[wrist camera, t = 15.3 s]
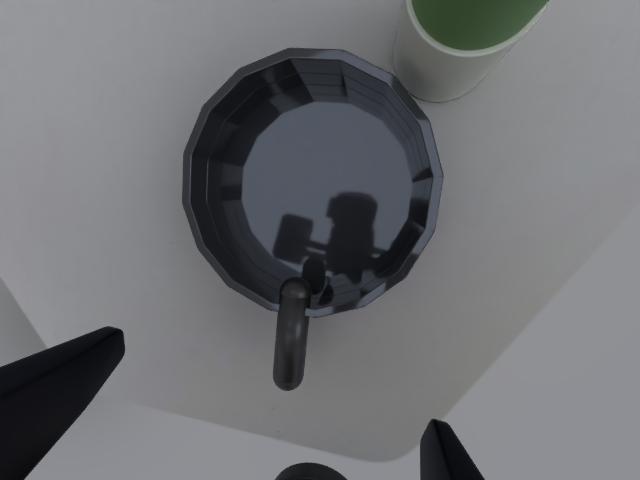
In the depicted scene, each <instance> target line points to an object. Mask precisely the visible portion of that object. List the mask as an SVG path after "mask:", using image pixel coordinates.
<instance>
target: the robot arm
mask: <svg viewBox="0 0 640 480" xmlns="http://www.w3.org/2000/svg"><path fill="white" fill-rule="evenodd" d="M124 353H125V343H124V334H123V331H122V330H121V329H118V328H114V327H110V326H107V327H104V328H101V329H98V330H96V331H93V332H91V333H88V334H85V335H83V336H80V337H78V338H75V339H72V340H70V341H67V342H65V343H62V344H59V345H57V346H54V347H52V348H49V349H46V350H44V351H41V352H38V353H36V354H33V355H31V356H28V357H25V358H23V359H20V360H18V361H15V362H13V363H10V364H7V365H5V366H2V367H0V480H24V479H25V478H26V477H27V476H28V475H29V473H30V472H31V471H32V470H33V469H34V468H35V466H36V465H37V464H38V463H39V462H40V461H41V460H42V458H43V457H44V456H45V455H46V454H47V453H48V451H49V450H50V449H51V448H52V447H53V446H54V445H55V443H56V442H57V441H58V440H59V439H60V438H61V436H62V435H63V434H64V433H65V432H66V431H67V430H68V428H69V427H70V426H71V425H72V424H73V423H74V422H75V420H76V419H77V418H78V417H79V416H80V415H81V413H82V412H83V411H84V410H85V408H86V407H87V406H88V405H89V403H90V402H91V401H92V399H93V398H94V397H95V395H96V394H97V393H98V391H99V390H100V388H101V387H102V386H103V384H104V383H105V382H106V380H107V379H108V377H109V376H110V375H111V373H112V372H113V371H114V369H115V368H116V366H117V365H118V364H119V362H120V361H121V360H122V358H123V356H124ZM420 468H421V469H420V473H421V474H420V476H421V480H485V479H484V478H483V476H482V475H481V473H480V472H479V470H478V469H477V467H476V465H475V464H474V463H473V461H472V459H471V458H470V456H469V455H468V453H467V452H466V450H465V449H464V447H463V445H462V444H461V443H460V441H459V439H458V438H457V436H456V435H455V433H454V431H453V430H452V428H451V427H450V425H448V423H446V422H443V421H440V420H436V419H432V420H431V421H430V422H429V424H428V426H427V428H426V430H425V432H424V434H423V435H422V438H421V442H420Z"/></svg>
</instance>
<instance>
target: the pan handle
mask: <svg viewBox="0 0 640 480" xmlns="http://www.w3.org/2000/svg"><path fill="white" fill-rule="evenodd" d="M311 295H312V291H311V287H310V284H309V283H308V282H307V281H306V280H305V279H303V278H301V277H290V278H288V279H287V280H285V281H284V282H283V284H282V285H281V288H280V293H279V312H278V317H277V329H276V341H275V353H274V365H273V379H274V382H275V384H276V385H277V386H278V387H279V388H280V389H282V390H285V391H290V390H293V389H295V388H297V387H298V386H299V385H300V383H301V382H302V379H303V375H304V365H305V355H306V345H307V335H308V325H309V317H308V316H305V311H306V308H307V307H309V306H310V305H311Z"/></svg>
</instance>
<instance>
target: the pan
mask: <svg viewBox="0 0 640 480" xmlns="http://www.w3.org/2000/svg"><path fill="white" fill-rule="evenodd" d="M442 183H443V171H442V167H441V163H440V160H439V156H438V152H437V148H436V144H435V140H434V136H433V132H432V128H431V124H430V121H429V119H428V118H427V116H426V115H425V114H424V113H423V111H422V110H421V109H420V107H419V106H418V105H417V104H416V102H415V101H414V100H413V99H412V97H411V96H410V95H409V94H408V92H407V91H406V90H405V89H404V87H403V86H402V85H401V83H400V82H399V81H398V80H397V78H396V77H395V76H393V74H391V73H389V72H387V71H385V70H383V69H381V68H379V67H377V66H375V65H373V64H371V63H369V62H367V61H365V60H363V59H361V58H359V57H357V56H355V55H353V54H351V53H349V52H347V51H345V50H344V51H343V50H339V49H309V48H287V49H285V50H282V51H280V52H277V53H275V54H273V55H270V56H268V57H265V58H263V59H261V60H258V61H256V62H253V63H251V64H249V65H246V66H244V67H241V68H240V69H238V70H237V71H236V72H235V73H234V74H233V75H232V76H231V77H230V78H229V79H228V81H227V82H226V83H225V84H224V85H223V86H222V87H221V88H220V89H219V90H218V91H217V92H216V93H215V94H214V95H213V96H212V97H211V98H210V99H209V100H208V101H207V102H206V103H205V104H204V105H203V107H202V109H201V112H200V114H199V116H198V119H197V121H196V124H195V126H194V128H193V131H192V133H191V136H190V138H189V141H188V143H187V145H186V148H185V150H184V154H183V189H182V202H183V203H182V204H183V207H184V210H185V213H186V216H187V219H188V222H189V225H190V228H191V231H192V234H193V237H194V239H195V242H196V245H197V248H198V250H199V251H200V252H201V254H202V255H203V256H204V257H205V259H206V260H207V261H208V262H209V264H210V265H211V266H212V267H213V269H214V270H215V271H216V272H217V274H218V275H219V276H220V277H221V278H222V280H223V281H224V282H225V283H226V285H227V286H228V287H230V288H232V289H233V290H235V291H237V292H239V293H240V294H242V295H244V296H245V297H247V298H249V299H250V300H252V301H254V302H256V303H257V304H259V305H261V306H262V307H264V308H266V309H267V310H270V311H277V312H279V293H280V288H281V285H282V284H283V282H284V281H285V280H287V279H288V278H290V277H301V278H303V279H305V280H306V281H307V282H308V283H309V284H310V287H311V291H312V295H311V305H310V306H309V307H307V308H306V311H305V316H308V317H314V318H317V317H322V316H326V315H331V314H335V313H339V312H344V311H348V310H353V309H357V308H361V307H364V306H366V305H368V304H369V303H370V302H372V301H373V300H375V299H376V298H377V297H379V296H380V295H382V294H383V293H385V292H386V291H387V290H389V289H390V288H392V287H393V286H394V285H396V284H397V283H399V282H400V281H402V280H403V279H404V278H405V277H406V276H407V275H408V273H409V272H410V270H411V269H412V267H413V265H414V264H415V262H416V261H417V259H418V257H419V256H420V254H421V253H422V251H423V249H424V248H425V246H426V245H427V243H428V241H429V240H430V238H431V237H432V235H433V233H434V231H435V227H436V220H437V214H438V208H439V202H440V196H441V189H442Z"/></svg>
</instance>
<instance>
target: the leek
mask: <svg viewBox="0 0 640 480" xmlns="http://www.w3.org/2000/svg"><path fill="white" fill-rule="evenodd" d="M548 1H549V0H402V5H401V11H400V17H399V23H398V29H397V35H396V41H395V47H394V67H395V71H396V74H397V77H398V79H399V81H400V82H401V84H402V85H403V87H404V88H405V89H406V90H407V91H408V92H409V93H411V94H412V95H414V96H415V97H417V98H419V99H421V100H425V101H429V102H446V101H450V100H454V99H456V98H459V97H461V96H463V95H465V94H466V93H467V92H469V91H470V90H471V89H473V88H474V87H475V86H476V85H477V84H478V83H479V82H480V81H481V80H482V79H483V78H484V77H485V76H486V75H487V73H488V72H489V71H490V70H491V69H492V68H493V67H494V66H495V65H496V64H497V63H498V62H499V61H500V60H501V59H502V58H503V57H504V56H505V55H506V54H507V53H508V52H509V51H510V50H511V49H512V47H513V46H514V45H515V44H516V43H517V42H518V41H519V40H520V39H521V38H522V37H523V36H524V35H525V34H526V33H527V32H528V31H529V30H530V29H531V27H532V26H533V25H534V24H535V23H536V22H537V20H538V19H539V17H540V16H541V15H542V13H543V11H544V9H545V8H546V6H547V4H548Z"/></svg>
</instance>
